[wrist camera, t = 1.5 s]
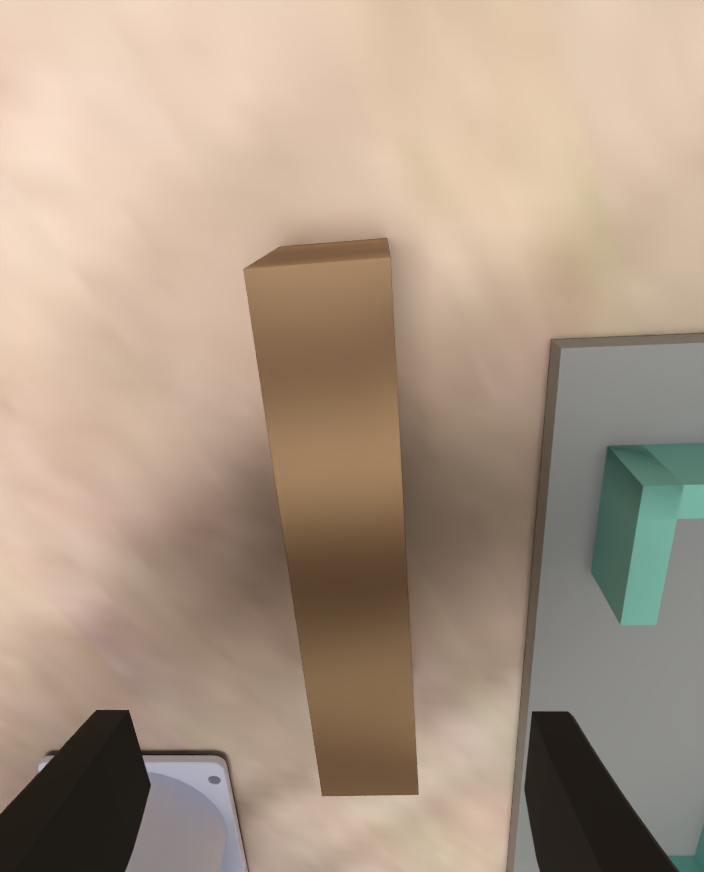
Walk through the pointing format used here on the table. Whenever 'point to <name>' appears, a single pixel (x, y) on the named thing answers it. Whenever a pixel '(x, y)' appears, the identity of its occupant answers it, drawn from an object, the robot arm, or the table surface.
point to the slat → (341, 501)
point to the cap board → (622, 579)
